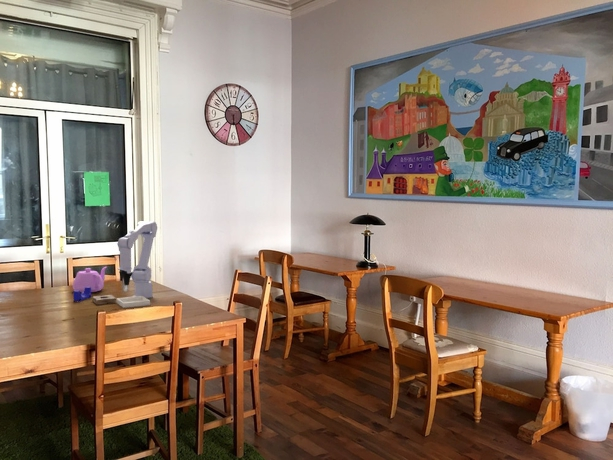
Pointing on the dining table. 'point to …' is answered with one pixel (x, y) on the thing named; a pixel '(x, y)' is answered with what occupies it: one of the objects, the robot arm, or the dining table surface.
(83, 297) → the cable clip
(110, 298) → the square hole board
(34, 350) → the dining table surface
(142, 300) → the tray
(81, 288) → the teapot
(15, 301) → the dining table surface
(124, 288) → the steel pin
